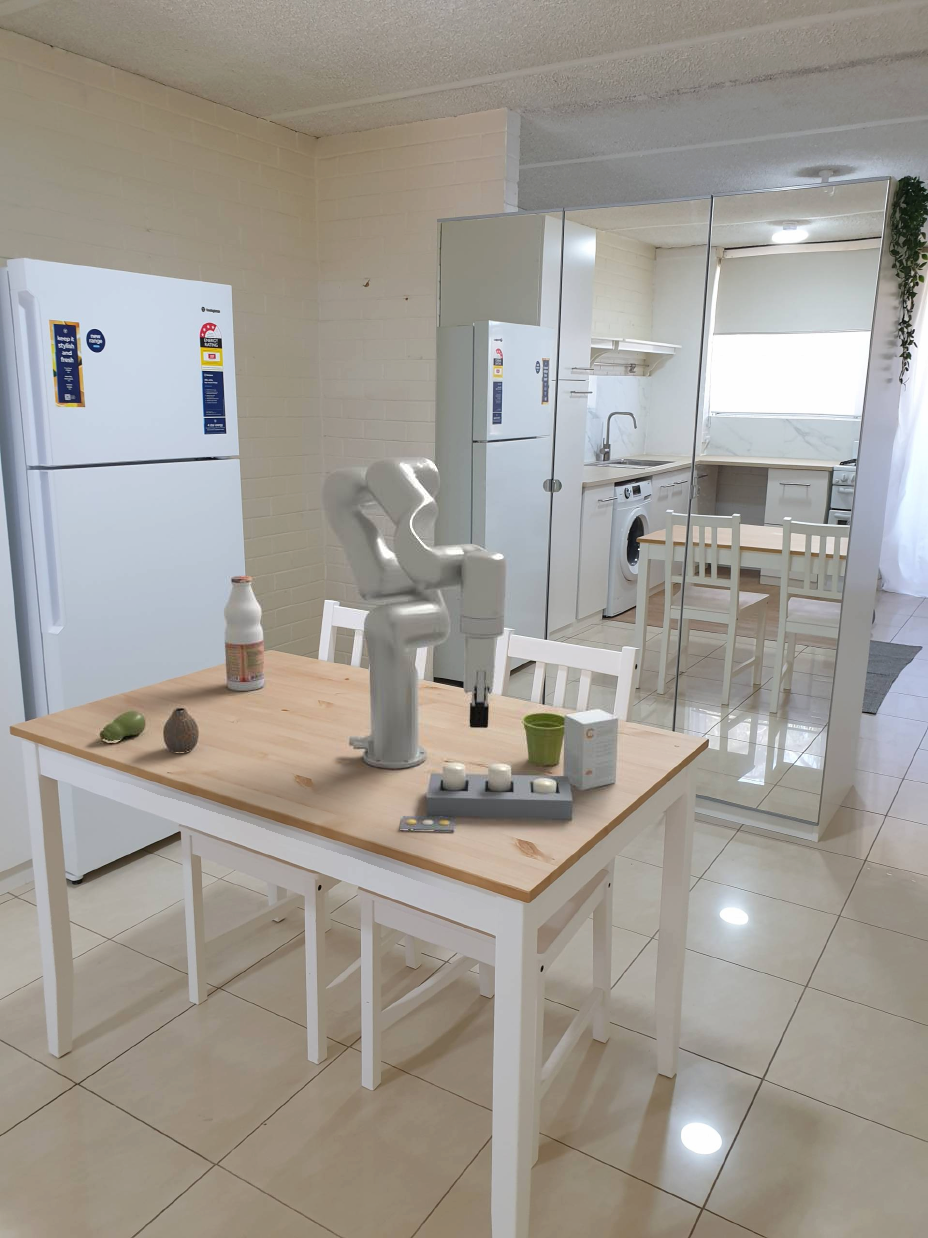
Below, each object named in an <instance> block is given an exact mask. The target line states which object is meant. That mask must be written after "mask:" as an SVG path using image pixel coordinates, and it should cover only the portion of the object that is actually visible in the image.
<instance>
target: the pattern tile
mask: <svg viewBox="0 0 928 1238" xmlns="http://www.w3.org/2000/svg"><path fill="white" fill-rule="evenodd" d="M455 822H456V817H432V816H412V815H410V816H409V815H408V816H407V815H402V817H401V821H400V826H399V830H400V829H408V830H411V829H413V830H434V831H451V832H450V833H454V832H455V826H456V825H455V824H456V823H455Z"/></svg>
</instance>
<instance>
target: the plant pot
mask: <svg viewBox="0 0 928 1238" xmlns="http://www.w3.org/2000/svg"><path fill="white" fill-rule="evenodd" d="M564 721H565V715H564V716H563V715H562V714H561V715H560V714H558V713H553V712H534V713H529V714H526V715H524V716H522V718H521V722H522V724H523V729H524V730H525V735H526V736H525V737H526V744H527V757H528V761H530V763H531V764H532V765H535V766H539V767H545V766H556V765H558V763H560V759H561V754H562V748H563V744H564Z"/></svg>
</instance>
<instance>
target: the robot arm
mask: <svg viewBox="0 0 928 1238" xmlns="http://www.w3.org/2000/svg"><path fill="white" fill-rule="evenodd" d="M440 486H441V476H440V473H439V470H438V468H437V467H436V465H435V464H434V463H433V461H431V460H430V459H428V458H426V457H423V456H403V457H402V456H401V457H399V456H396V457H394V456H393V457H385V458H380V459H377V460H375V461H374V462H372V463H371V464H370V465H369V466H354V467H345V468H344V467H343V468H339V469H336V470H334V471H332V472H330V473H329V474H327V475H326V476H325V478H324V479H323V482H322V485H321V503H322V509H323V512H324V516H325V518H326V520H327V522H328V525H329V526H330V528H331V529H332V532H333V533H334V535H335V537H336V538H337V539H338V541H339V543H340V545H341V548H342V550H343V553H344V556H345V559H346V562H347V565H348V567H349V571H350V573H351V576H352V579H353V582H354V584H355V587H356V589H357V591H358V594H359V596H360V597H361V598H362V599H363V600H364V601H367V602H369V603H382V602H391V603H385V604H381V605H378V606H375V607H374V608H372V609H370V610H369V611H368V612H367V614H366V616H365V618H364V621H363V632H364V638H365V643H366V648H367V654H368V662H369V663H368V664H369V688H370V689H369V692H370V693H369V695H370V697H369V699H370V700H369V701H370V702H369V703H370V706H369V707H370V734H369V735H365V736H349V739H348V740H349V741H348V742H349V743H348V744H349V746H350V747H352V748H353V750H364V751H363V752H362V753H363V755H362V756H363V757H362V758H363V760H364V762H365V763H367V764H368V765H370V766H373V767H376V768H381V769H392V770H393V769H403V768H404V769H405V768H411V767H414V766H417V765H420V764H421V763H423V762H424V761H425V760H426V758H427V751H426V749H425V748H424V747H423V746H420V745H419V673H418V669H417V666H416V664H415V663H414V661H412V659H411V657H410V656H409V654H408V652H409V651H412V650H416V649H423V648H428V647H432V646H437V645H440V644H443V643H444V642H445V641H446V640H447V639H448V637H449V636H450V633H451V617H450V614H449V611H448V607H447V604H446V602H445V599H444V597H443V595H442V594H443V593H442V590H449V589H460V609H459V610H460V611H459V612H460V613H459V634H461V635H462V636H464V637H465V638H464V639H465V640H464V656H463V657H464V658H463V659H464V660H463V665H464V666H463V692H464V693H465V694H468V693H471V702H470V703H469V727H470V728H471V729H472V728H476V729H477V728H479V729H481V728H483V729H487V728H488V727H489V713H490V712H489V711H490V710H489V708H490V707H489V704H490V703H489V701H488V700H489V695H490V694H492V693H493V689H494V681H495V680H494V679H495V673H496V671H495V669H496V659H497V658H496V656H497V638H499V637H501V636H504V633H505V631H504V629H505V608H506V607H505V606H506V603H505V602H506V579H507V577H506V575H507V561H506V558H505V556H504V555H503V554H502V553H499V552H495V551H489V550H486V549H484V548H482V547H481V546H479V545H477V544H474V543H461V544H450V545H449V544H447V545H446V544H445V545H437V546H429V547H428V546H426V545H425V543H423V542H422V541H421V539H420V538H419V537H420V536H423V535H424V534H425V533H426V532H428V531H429V530H430V529H431V528H432V527H433V525H434V524H435V522H436V520H437V518H438V515H439V507H438V504H437V502H436V501H435V499H434V498H435V497H436V496H437V494H438V492H439V490H440V488H441V487H440ZM379 509H381V510H383V511H384V513H385V514H386V516H387V517H388V518H389V519H390V521H391V522H392V523H393V524H394V526H395V529H394V534H393V539H392V540H393V550H394V552H392V551H391V550H390V549H389V547H388V546H387V544H386V543H387V542H386V541H385V538H384V535H383V532H382V531H381V530H380V528H379V526H377V525H376V524H375V523H374V521H373V520H371V519H370V517H368V516H366V514H364V513H363V512H362V511H363V510H379ZM398 600H405V601H398ZM406 600H407V601H406ZM392 601H398V602H392Z"/></svg>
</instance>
